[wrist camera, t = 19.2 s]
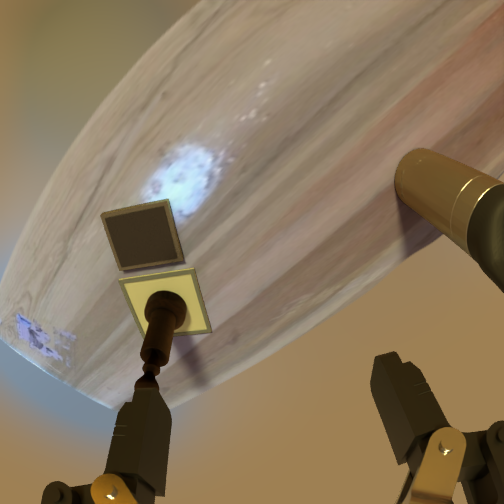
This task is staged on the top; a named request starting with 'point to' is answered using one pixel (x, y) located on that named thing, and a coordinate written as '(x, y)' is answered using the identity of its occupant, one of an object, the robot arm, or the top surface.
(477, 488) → the robot arm
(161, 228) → the ink pad
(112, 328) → the top surface
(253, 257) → the top surface
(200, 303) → the print card
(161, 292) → the brown wooden stamp
